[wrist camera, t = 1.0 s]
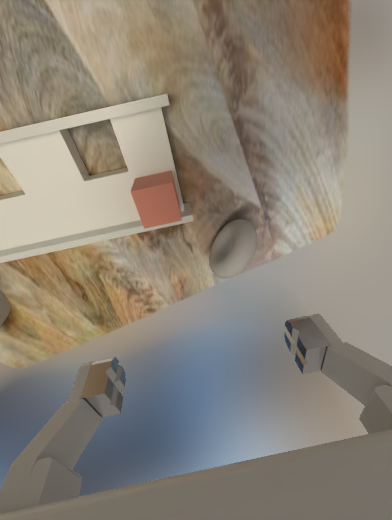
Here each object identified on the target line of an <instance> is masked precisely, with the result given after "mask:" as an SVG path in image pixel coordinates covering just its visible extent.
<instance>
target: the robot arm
mask: <svg viewBox="0 0 392 520" xmlns="http://www.w3.org/2000/svg"><path fill="white" fill-rule="evenodd" d="M285 326H286V328H287V330H286V331H285V336H284V337H285V341H286V344H287V346H288V348H289V350H290V352H292V353H293V354H295V361H296V363H297V365H298V367H299V369H300V371H301V372H302V374H305V373H311V372H317V371H321V372H322V373H323V374H325V375H326V376H327V377H329V378H330V379H331V380H332V381H334V382H335V383H336V384H338V385H339V386H340V387H342V388H343V389H344V390H346V391H347V392H348V393H349V394H351V395H352V396H353V397H355V398H356V399H357V400H358V401H360V402H361V403H362V404H364V405H365V408H364V409H363V411H362V413H361V415H360V421H361V422H362V424H363V426H364V427H365V429H366V430H367V432H368V433H369V434H367V435H363V436H358V437H353V438H349V439H344V440H339V441H335V442H330V443H325V444H321V445H316V446H312V447H307V448H302V449H298V450H293V451H288V452H284V453H279V454H275V455H270V456H265V457H261V458H256V459H251V460H247V461H242V462H238V463H233V464H228V465H224V466H219V467H215V468H210V469H205V470H200V471H196V472H192V473H187V474H182V475H177V476H173V477H168V478H163V479H159V480H154V481H149V482H145V483H140V484H136V485H131V486H127V487H122V488H117V489H112V490H108V491H103V492H98V493H94V494H89V495H85V496H80V497H79V492H80V488H81V483H82V477H81V475H79V474H77V473H76V472H74V471H72V469H73V467H74V466H75V464H76V462H77V461H78V459H79V457H80V456H81V454H82V452H83V451H84V449H85V447H86V445H87V444H88V442H89V440H90V439H91V437H92V435H93V434H94V432H95V430H96V429H97V427H98V425H99V424H100V422H101V420H102V418H103V417H106V416H111V415H115V414H119V413H121V408H122V402H123V396H122V394H121V392H122V390H123V389H124V387H125V382H126V378H125V371H124V369H123V367H122V366H120V365H118V362H119V361H118V359H117V358H116V357H115V358H109V359H104V360H99V361H94V362H89V363H85V364H82V365H81V367H80V368H79V371H78V374H77V377H76V380H75V382H74V386H73V388H72V391H71V394H70V397H69V400H68V402H66V403H64V404H63V405H62V406H61V407H60V408H59V410H58V411H57V412H56V413H55V414H54V415H53V417H52V418H51V419H50V420H49V421H48V422H47V424H46V425H45V426H44V427H43V428H42V429H41V431H40V432H39V433H38V434H37V435H36V436H35V438H34V439H33V440H32V441H31V442H30V443H29V445H28V446H27V447H26V448H25V449H24V450H23V451H22V453H21V454H20V455H19V456H18V457H17V458H16V460H15V461H14V462H13V463H12V465H11V467H10V469H9V471H8V474H7V476H6V478H5V480H4V483H3V485H2V487H1V489H0V520H392V366H390V365H388V364H386V363H385V362H383V361H381V360H379V359H377V358H375V357H373V356H371V355H370V354H368V353H366V352H364V351H362V350H360V349H358V348H356V347H354V346H353V345H351V344H349V343H347V342H346V343H343V342H342V341H341V339H340V338H339V337H338V336H337V334H336V333H335V332H334V331H333V330H332V329H331V327H330V326H329V325H328V323H327V322H326V321H325V320H324V319H323V317H322V316H321V315H320V314H314V315H310V316H303V317H300V318H295V319H290V320H287V321H286V322H285Z"/></svg>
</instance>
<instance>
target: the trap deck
mask: <svg viewBox="0 0 392 520" xmlns="http://www.w3.org/2000/svg"><path fill="white" fill-rule="evenodd" d="M168 105H169V100H168V95H167V94H163V95H158V96H154V97H150V98H145V99H141V100H137V101H132V102H128V103H123V104H119V105H115V106H110V107H106V108H102V109H97V110H93V111H88V112H84V113H80V114H75V115H71V116H67V117H62V118H58V119H54V120H49V121H45V122H40V123H36V124H32V125H27V126H23V127H19V128H14V129H10V130H5V131H1V132H0V158H1V159H2V160H3V162H4V163H5V165H6V166H7V168H8V169H9V171H10V172H11V174H12V175H13V177H14V178H15V180H16V181H17V182H18V184H19V185H20V187H21V188H22V190H23V191H19V192H15V193H10V194H6V195H1V196H0V263H2V262H7V261H12V260H16V259H21V258H26V257H30V256H35V255H39V254H44V253H49V252H53V251H58V250H62V249H67V248H72V247H76V246H81V245H85V244H90V243H95V242H99V241H104V240H108V239H113V238H118V237H122V236H127V235H132V234H136V233H141V232H145V231H150V230H155V229H159V228H164V227H168V226H173V225H178V224H182V223H187V222H191V221H194V220H193V215H192V211H191V206H190V202H189V203H185V204H183V200H182V195H181V191H180V187H179V182H178V178H177V173H176V169H175V165H174V160H173V156H172V151H171V147H170V143H169V138H168V134H167V130H166V125H165V121H164V116H163V112H162V108H161V107H164V106H168ZM107 119H110V121H111V124H112V126H113V129H114V132H115V135H116V138H117V140H118V143H119V146H120V149H121V152H122V154H123V157H124V160H125V163H126V166H127V168H122V169H118V170H113V171H109V172H104V173H100V174H95V175H91V176H89V174H88V172H87V169H86V167H85V165H84V163H83V161H82V159H81V157H80V155H79V152H78V150H77V148H76V146H75V144H74V142H73V140H72V138H71V135H70V133H69V131H68V129H67V128H72V127H76V126H80V125H85V124H89V123H94V122H98V121H102V120H107ZM170 170H172V174H173V179H174V183H175V187H176V191H177V195H178V199H179V204H180V210H181V217H182V221H178V222H173V223H168V224H164V225H159V226H155V227H150V228H145V229H144V227H143V224H142V221H141V219H140V216H139V213H138V211H137V208H136V205H135V203H134V200H133V197H132V195H131V192H130V191H131V188H132V186H133V183H134V180H135V178H139V177H143V176H148V175H152V174H157V173H161V172H166V171H170Z"/></svg>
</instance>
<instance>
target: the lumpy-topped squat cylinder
mask: <svg viewBox="0 0 392 520" xmlns="http://www.w3.org/2000/svg"><path fill="white" fill-rule="evenodd" d="M10 310H11V306H10V303H9V301H8V299H7V298H6V296H5V295H4V294H3V293H2V292H1V291H0V327H1V325H2V324H3V322H4V321H5V320H6V318H7V317H8V315H9V313H10Z"/></svg>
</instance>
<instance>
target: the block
mask: <svg viewBox="0 0 392 520" xmlns="http://www.w3.org/2000/svg"><path fill="white" fill-rule="evenodd" d="M130 192H131V195H132V197H133V200H134V203H135V205H136V208H137V211H138V213H139V216H140V219H141V221H142V224H143V227H144V229H145V228H150V227H155V226H159V225H164V224H168V223H173V222H178V221H182V217H181V210H180V204H179V199H178V195H177V191H176V187H175V183H174V179H173V174H172V170H170V171H166V172H161V173H157V174H152V175H148V176H143V177H139V178H135V180H134V183H133V186H132V188H131V191H130Z"/></svg>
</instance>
